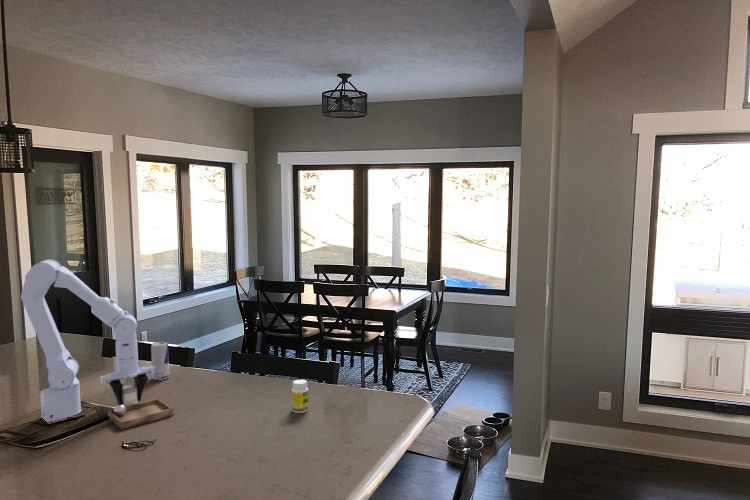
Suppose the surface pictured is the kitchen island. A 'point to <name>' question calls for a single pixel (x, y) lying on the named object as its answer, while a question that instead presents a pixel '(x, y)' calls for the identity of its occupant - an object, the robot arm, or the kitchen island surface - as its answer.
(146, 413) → the tray
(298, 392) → the supplement bottle
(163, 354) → the energy drink
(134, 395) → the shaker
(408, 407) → the kitchen island surface
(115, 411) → the steel ball
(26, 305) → the robot arm
